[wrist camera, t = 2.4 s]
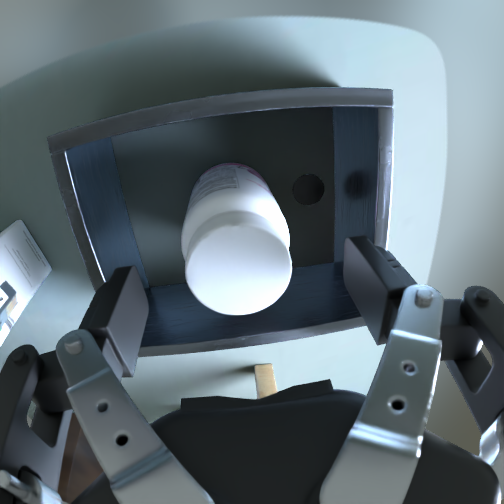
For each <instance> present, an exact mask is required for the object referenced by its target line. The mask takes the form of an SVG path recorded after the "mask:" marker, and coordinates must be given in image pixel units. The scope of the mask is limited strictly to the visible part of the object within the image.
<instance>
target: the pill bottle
mask: <svg viewBox="0 0 504 504" xmlns="http://www.w3.org/2000/svg"><path fill="white" fill-rule="evenodd" d="M181 248H182V253H183V257H184V259H185V262H186V263H185V276H186V281H187V284H188V286H189V288H190V290H191V292H192V293H193V295H194V296H195V297H196V298H197V300H199V301H200V302H201V303H202V304H203V305H205V306H206V307H208V308H210V309H212V310H214V311H216V312H219V313H223V314H229V315H245V314H250V313H254V312H257V311H260V310H262V309H264V308H266V307H268V306H270V305H271V304H273V303H274V302H275V301H276V300H277V299H278V298H279V297H280V296H281V295H282V294H283V292H284V291H285V289H286V288H287V286H288V283H289V281H290V277H291V273H292V261H291V256H290V253H289V231H288V227H287V224H286V220H285V218H284V216H283V214H282V212H281V210H280V208H279V206H278V204H277V202H276V200H275V198H274V197H273V194H272V193H271V191H270V189H269V187H268V185H267V183H266V182H265V180H264V179H263V177H262V176H261V175H260V174H259V173H258V172H257V171H255V170H254V169H252V168H251V167H249V166H246V165H243V164H239V163H224V164H220V165H217V166H214V167H212V168H210V169H208V170H207V171H206V172H204V173H203V174H202V175H201V176H200V178H199V179H198V180H197V182H196V183H195V185H194V187H193V190H192V193H191V197H190V200H189V204H188V208H187V212H186V216H185V220H184V224H183V229H182V234H181Z"/></svg>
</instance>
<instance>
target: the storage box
mask: <svg viewBox="0 0 504 504" xmlns="http://www.w3.org/2000/svg"><path fill="white" fill-rule="evenodd" d="M308 107H332V115H333V136H334V168H335V237H334V262H332V263H325V264H319V265H312V266H305V267H298V268H292V273H291V277H290V281H289V283H288V286H287V288H286V289H285V291H284V292H283V294H282V295H281V296H280V297H279V298H278V299H277V300H276V301H275V302H274V303H273V304H271V305H270V306H268V307H266V308H264V309H262V310H260V311H257V312H254V313H250V314H245V315H229V314H223V313H219V312H216V311H214V310H212V309H210V308H208V307H206V306H205V305H203V304H202V303H201V302H200V301H199V300H197V298H196V297H195V296H194V295H193V293H192V292H191V290H190V288H189V286H188V284H187V283H181V284H173V285H165V286H157V287H150V286H149V283H148V280H147V277H146V274H145V270H144V267H143V264H142V261H141V257H140V254H139V251H138V247H137V244H136V241H135V237H134V234H133V230H132V226H131V223H130V219H129V215H128V211H127V208H126V204H125V200H124V196H123V192H122V187H121V183H120V179H119V175H118V170H117V166H116V161H115V156H114V152H113V147H112V142H111V137H112V136H116V135H120V134H124V133H128V132H133V131H137V130H141V129H146V128H151V127H155V126H160V125H166V124H171V123H176V122H182V121H188V120H193V119H200V118H206V117H213V116H220V115H228V114H236V113H244V112H254V111H264V110H276V109H290V108H308ZM392 107H393V90H391V89H378V88H354V87H313V88H288V89H272V90H260V91H249V92H239V93H231V94H223V95H215V96H208V97H202V98H195V99H189V100H184V101H178V102H173V103H168V104H162V105H158V106H153V107H148V108H144V109H139V110H135V111H131V112H127V113H123V114H119V115H115V116H111V117H108V118H104V119H100V120H97V121H94V122H90V123H87V124H84V125H81V126H77V127H74V128H71V129H68V130H65V131H62V132H59V133H57V134H54V135H51V136H48V137H47V141H48V145H49V150H50V153H51V154H52V155H51V158H52V162H53V166H54V170H55V174H56V178H57V182H58V186H59V189H60V193H61V196H62V200H63V203H64V206H65V210H66V213H67V216H68V219H69V222H70V225H71V228H72V231H73V234H74V237H75V240H76V243H77V246H78V249H79V251H80V254H81V257H82V259H83V262H84V265H85V267H86V270H87V272H88V275H89V277H90V280H91V282H92V285H93V287H94V290H95V292H96V291H97V290H98V289H99V288H100V287H101V286H102V285H103V284H104V283H105V282H107V281H109V280H110V278H111V276H112V274H113V272H114V270H115V269H116V268H118V267H125V266H133V265H134V266H135V267H136V268H137V270H138V273H139V276H140V279H141V282H142V285H143V288H144V291H145V294H146V297H147V300H148V306H149V312H148V317H147V321H146V325H145V328H144V332H143V336H142V341H141V345H140V349H139V353H138V357H147V356H162V355H174V354H186V353H196V352H206V351H216V350H224V349H233V348H240V347H248V346H255V345H262V344H269V343H276V342H282V341H288V340H294V339H300V338H306V337H312V336H317V335H323V334H328V333H333V332H338V331H343V330H348V329H353V328H357V327H362V326H367V325H366V323H365V321H364V320H363V318H362V316H361V314H360V312H359V310H358V308H357V307H356V305H355V303H354V301H353V299H352V298H351V296H350V294H349V292H348V290H347V289H346V286H345V283H344V278H343V267H344V247H345V240H346V238H347V237H354V236H362V235H366V236H367V237H368V238H369V240H370V241H371V242H372V243H373V244H374V245H375V246H380V247H382V248H384V249H386V250H387V242H388V233H389V222H390V211H391V197H392V179H393V149H394V116H393V108H392ZM323 194H324V184H323V182H322V180H321V179H320V178H319V177H317V176H316V175H312V174H306V175H303V176H301V177H300V178H298V179H297V180H296V182H295V183H294V186H293V195H294V197H295V199H296V200H297V201H298V202H299V203H301V204H303V205H312V204H315V203H317V202H318V201H319V200H320V199H321V198H322V196H323Z"/></svg>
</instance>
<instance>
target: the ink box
mask: <svg viewBox="0 0 504 504" xmlns="http://www.w3.org/2000/svg"><path fill="white" fill-rule="evenodd" d="M51 271H52V268H51V266H50V264H49V263H48V261H47V260H46V258H45V256H44V255H43V253H42V252H41V250H40V248H39V247H38V245H37V244H36V242H35V240H34V239H33V237H32V236H31V234H30V232H29V231H28V229H27V228H26V226H25V224H24V223H23V221H22V220H17V221H16V222H14V223H13V224H12V225H10V226H9V227H8V228H6V229H5V230H4V231H3V232H1V233H0V346H1V345H2V343H3V341H4V340H5V338H6V336H7V335H8V333H9V331H10V330H11V328H12V327H13V325H14V323H15V322H16V320H17V319H18V317H19V316H20V314H21V313H22V311H23V310H24V308H25V307H26V305H27V304H28V302H29V301H30V299H31V298H32V297H33V295H34V294H35V292H36V291H37V289H38V288H39V287H40V285H41V284H42V283H43V281H44V280H45V278H46V277H47V276H48V275H49V273H50V272H51Z"/></svg>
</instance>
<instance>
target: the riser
mask: <svg viewBox="0 0 504 504" xmlns="http://www.w3.org/2000/svg"><path fill="white" fill-rule="evenodd" d="M103 471H104V470H103V469H102V467H101V465H100V463H99V461H98V459H97V458H96V456H95V454H94V452H93V450H92V448H91V446H90V444H89V442H88V440H87V438H86V436H85V434H84V432H83V430H82V428H81V426H80V424H79V421H78V419H77V417H76V415H75V413H72V416H71V420H70V425H69V429H68V434H67V439H66V444H65V449H64V454H63V460H62V466H61V472H60V478H59V485H58V494H59V495H60V497H61V499H62V503H63V504H70V503H71V502H73V501H74V500H75V499H76V498H77V497H78V496H79V495H80V494H81V493H82V492H83V491H84V490H85V489H86V488H87V487H88V486H89V485H90V484H91V483H92V482H93V481H94V480H95V479H96V478H97V477H98V476H99V475H100V474H101V473H102V472H103Z"/></svg>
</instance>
